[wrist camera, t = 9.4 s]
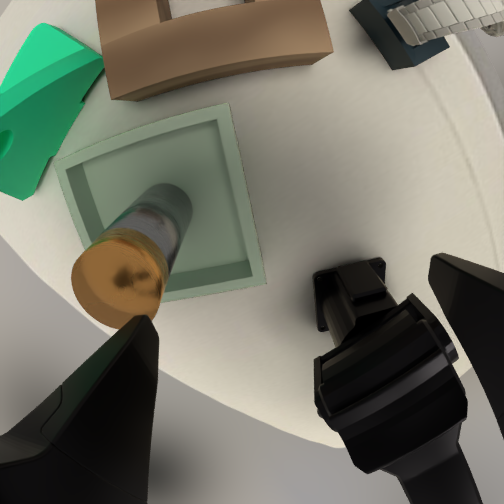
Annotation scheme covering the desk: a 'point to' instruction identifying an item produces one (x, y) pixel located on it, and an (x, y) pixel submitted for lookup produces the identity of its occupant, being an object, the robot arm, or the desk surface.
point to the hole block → (204, 42)
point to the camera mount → (41, 104)
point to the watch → (424, 25)
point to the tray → (185, 177)
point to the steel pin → (133, 257)
